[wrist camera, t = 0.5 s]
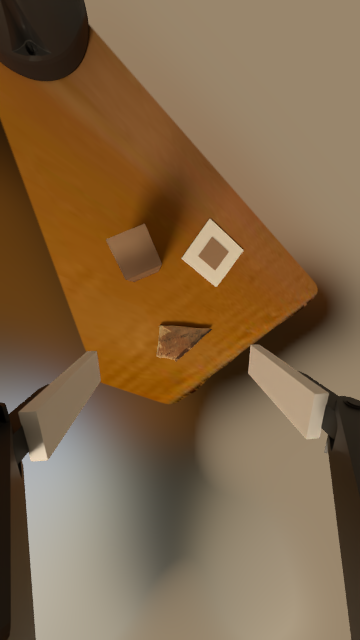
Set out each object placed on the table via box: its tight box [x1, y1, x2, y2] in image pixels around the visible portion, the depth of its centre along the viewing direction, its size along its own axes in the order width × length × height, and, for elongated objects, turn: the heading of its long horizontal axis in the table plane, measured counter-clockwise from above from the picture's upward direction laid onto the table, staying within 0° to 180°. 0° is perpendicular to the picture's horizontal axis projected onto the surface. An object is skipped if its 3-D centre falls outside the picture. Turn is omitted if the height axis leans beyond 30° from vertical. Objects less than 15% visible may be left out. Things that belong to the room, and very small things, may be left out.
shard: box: [157, 325, 212, 361], centre depth 35 cm, size 11×8×2 cm
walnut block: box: [106, 224, 162, 282], centre depth 26 cm, size 5×5×11 cm
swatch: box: [181, 219, 243, 287], centre depth 33 cm, size 9×9×1 cm
